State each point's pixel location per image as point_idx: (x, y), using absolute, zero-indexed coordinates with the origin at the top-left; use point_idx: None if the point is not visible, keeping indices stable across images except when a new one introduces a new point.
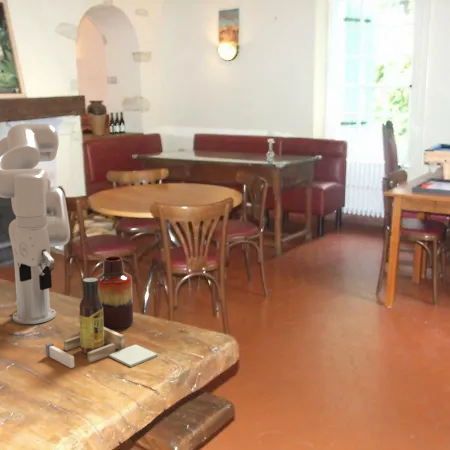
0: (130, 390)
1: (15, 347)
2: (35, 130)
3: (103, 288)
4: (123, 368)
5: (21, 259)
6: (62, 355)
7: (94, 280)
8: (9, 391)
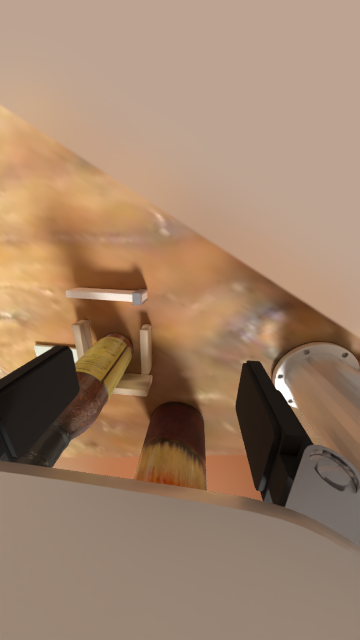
0: None
1: (224, 276)
2: None
3: (154, 480)
4: (39, 336)
5: (110, 617)
6: (92, 291)
7: None
8: (65, 158)
